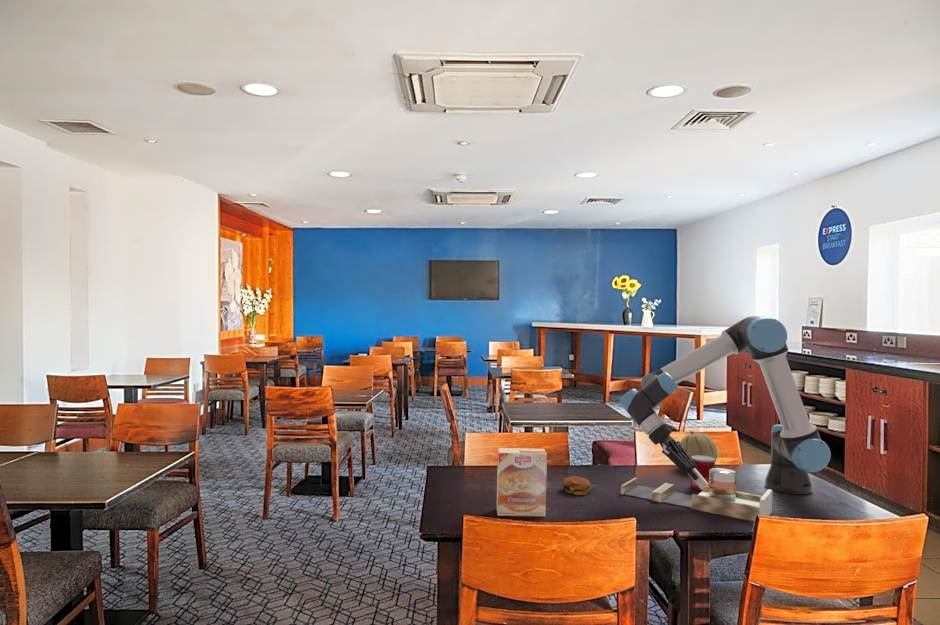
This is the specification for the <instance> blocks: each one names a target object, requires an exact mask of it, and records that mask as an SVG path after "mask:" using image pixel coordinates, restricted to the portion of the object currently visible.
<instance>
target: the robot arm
mask: <svg viewBox="0 0 940 625" xmlns="http://www.w3.org/2000/svg"><path fill="white" fill-rule="evenodd" d="M787 341H788V331H787V328H786V327H785V325H784V324H783V323H782V322H781V321H780V320H778V319H776V318H774V317H772V316H764V315H762V316H756V315H755V316H754V315H752V316H751V315H750V316H748V317H745V318H743V319H741V320H739V321H738V322H736V323H734V324H733V325H731V326H729V327H728V328H726V329H725V330H722V331H721V334H720V335H719V336H717V337H715V338H714V339H712V340H710V341H708V342H707V343H705V344H703V345H701V346H699V347H698V348H696V349H694V350H692V351H690V352H689V353H686V354H684V355H683V356H681V357H679V358H678V359H675V360H673V361H672V362H670V363H669V364H667V365H664V366H662V367H661V368H659V369H658V370H656V371H653V372H651V373H650V372H649V373H646V374H645V375H644V376H642V378H641V381H640V385H641V390H637V388H632V389H630V390H629V391H627V392H625V394H623V395H622V396H621V397H620V399H619V403H620V405H621V406H622V408H624V410H625V411H626V413H627V414H628V415H629V416H630V417H631V418H632V420H634V422H635V423H636V424H637V425H638V426H639V427H640V431H641V432H643V433H644V434H645V435H647V436H648V438H649V440H650V441H651V443H653V444H654V445H658V444H659V445H660V447H661V448H662V450H661V453H662V454H663V455H664V456H666V457H667V458H668V459H669V460H670V462H672V463H673V464H674V465H675V466H676V467H677V468H678V469H679V470H680V471H681V472H682V473H683V474H684V475H688V476H689V477H690V479H691V478H692V479H693V480H694V482H695V483H696V484H697V485H698V486H699V487H700V489H701V490H702V489H703V488H705V487H706V486H707V485H708V482H707V481H706V480H705V479H704V478H703V477H702V475H701V474H700V473H699V472H698V471H697V470H696V468H695V467H696V466H697V465H696V464H695V463H694V462H693V461H692V459H691V458H690V456H689V455H688V454H687V452H686V451H685V450H684V448H683V447H682V445H681V443H680V442H681V441H679V440H677V441H676V440H675V439H674V438H673V437H672V436H671V434H672V433H673V431H672V430H673V429H671V428H670V427H669V426H668V425H667V424H666V423H664V420H663V418H662V417H661V416H660V415H659V414H658V413H657V412H656V411H655V410H654V408H656V407H657V406H659V405H660V404H661V403H663V402H664V401H665V400H666V399H667V398H669V397H670V396H671V395H673V394H674V393H675V392H677V390H678V389H679V384H680V383H681V382H682V381H684V380H686V379H688V378H690V377H692V376H693V375H696V374H697V373H699V372H701V371H703V370H704V369H706V368H708V367H711V366H712V365H714V364H716V363H718V362H720V361H721V360H723V359H725V358H727V357H728V356H730V355H733V354H734V355H738V354H740V353H742V352H743V353H744V352H746V351H749V354H750V356H751V359H752V361H753V362H756V363H757V364H759V366H760V369H761V372H762V376H763V379H764V380H765V384H766V386H767V389H768V392H769V394H770V397H771V400H772V403H773V406H774V408H775V411H776V414H777V416H778V420H779V422H780V424H774V425H772V427H771V432H770V441H771V442H770V466H769V468H768V472H767V473H766V476H765V480H764V486H765V487H766V488H767V489H770V490H772V491H774V492H778V493H782V494H791V495H807V494H811V493H812V492H813V483H812V480H811V478H810V475H809V473H817V472H820V471H823V469H825V468H826V467H827V466H828V465H829V462H830V460H831V456H832V453H831V449H830V447H829V445H828V444H827V443H826V442H825V441H823V440H822V438H821V435H820V432H819V430H818V427H817V426H816V425H815V424H814V423H812V422H810V419H809V417H808V415H807V412H806V408H805V406H804V403H803V400H802V398H801V395H800V392H799V389H798V387H797V384H796V381H795V379H794V377H793V373H792V370H791V368H790V365H789V362H788V359H787V357H786V356H787V354H788V352H789V348H788V345H787Z"/></svg>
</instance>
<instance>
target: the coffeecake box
mask: <svg viewBox="0 0 940 625" xmlns="http://www.w3.org/2000/svg"><path fill="white" fill-rule="evenodd" d="M547 464H548V453H547V451H546V449H545V448H527V447H526V448H524V447H523V448H522V447H520V448H519V447H517V448H514V447H498V448H497V468H496V469H497V472H496V474H497V475H496V477H497V478H496V514H497V516H498V517H500V516H501V517H502V516H503V517H507V516H509V517H546V515H547V514H546V513H547V475H548V474H547V470H548V465H547Z"/></svg>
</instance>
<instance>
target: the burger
mask: <svg viewBox="0 0 940 625" xmlns="http://www.w3.org/2000/svg"><path fill="white" fill-rule="evenodd" d="M562 487H563V489H564V491H565V492H566V493H568V494H572V495H575V496H586V495H588V494H589V493H590V492H591V490H592V486H591V482H590V481H589V480H588V479H587V478H584V477H581V476H573V475H572V476H568V477H565V478H564V479H563V480H562Z"/></svg>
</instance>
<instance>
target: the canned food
mask: <svg viewBox="0 0 940 625" xmlns="http://www.w3.org/2000/svg"><path fill="white" fill-rule="evenodd" d="M691 459H692V461H693V462H694V463H695V464H696V465H697V466H696V467H695V468H696V470H697V471H698V472H699V473H700V474H701V475H702V477H703V478H704V479H705V480H706V481H707V482H708V485H707V486H709V470H710V469H712V468H716V462H715V459H714V458H712V457H709V456H702V455H695V456H692V457H691ZM690 487H691V488H692V489H693V490H696V491H701V492H702V491H703V489H702V490H701V489H700V487H699V486H698V485H697V484H696V483H695V482H694V480H693V479H692V478H691V477H690Z"/></svg>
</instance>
